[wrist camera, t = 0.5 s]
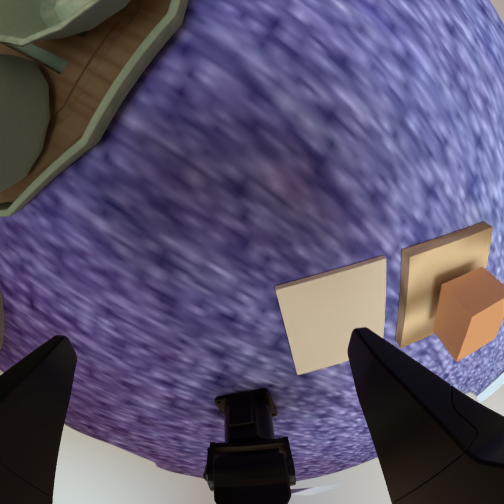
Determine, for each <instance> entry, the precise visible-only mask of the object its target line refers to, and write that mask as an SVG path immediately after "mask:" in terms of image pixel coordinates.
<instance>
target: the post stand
mask: <svg viewBox="0 0 504 504" xmlns="http://www.w3.org/2000/svg"><path fill="white" fill-rule="evenodd" d="M492 228H493V227H492V226H490V225H489V224H487V223H486V222H481V223H479V224H476V225H473V226H470V227H467V228H464V229H462V230H459V231H456V232H453V233H450V234H447V235H444V236H441V237H438V238H435V239H432V240H429V241H426V242H423V243H420V244H417V245H414V246H411V247H408V248H405V249H402V252H401V282H400V298H399V310H398V320H397V329H396V337H395V340H396V342H397V343H398V345H399V347H400V348H402V347H404V346H407V345H409V344H412V343H414V342H416V341H419V340H421V339H423V338H425V337H427V336H430V335H432V334H434V333H435V332H434V331H433V327H434V322H435V318H436V313H437V308H438V302H439V297H440V291H441V285H442V284H444V283H446V282H448V281H451V280H453V279H455V278H458V277H460V276H462V275H464V274H466V273H469V272H471V271H473V270H475V269H477V268H479V267H481V266H482V267H483V268H485V269H486V266H487V260H488V255H489V249H490V243H491V236H492Z"/></svg>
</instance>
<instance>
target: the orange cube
mask: <svg viewBox="0 0 504 504" xmlns="http://www.w3.org/2000/svg"><path fill="white" fill-rule="evenodd" d="M503 317H504V285H503V284H502V283H501V282H500V281H499V280H497V279H496V278H495V277H494V276H493V275H492V274H491V273H489V272H488V271H487V270H486V269H485V268H483V267H482V266H481V267H479V268H477V269H475V270H473V271H471V272H469V273H466V274H464V275H462V276H460V277H458V278H455V279H453V280H451V281H448V282H446V283H444V284H442V285H441V291H440V297H439V302H438V308H437V313H436V318H435V322H434V327H433V331H434V332H435V333H436V335H437V336H438V338H439V339H440V340H441V342H442V343H443V344H444V346H445V347H446V349H447V350H448V351H449V353H450V354H451V356H452V357H453V358H454V360H455V361H456V362H457V361H459V360H460V359H462V358H464V357H466V356H467V355H469V354H471V353H472V352H474V351H476V350H477V349H479V348H481V347H482V346H484V345H485V344H487V343H488V342H490V341H491V340H493V339H494V338H495V337H496V335H497V333H498V330H499V328H500V325H501V323H502V320H503Z"/></svg>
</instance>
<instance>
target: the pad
mask: <svg viewBox="0 0 504 504" xmlns="http://www.w3.org/2000/svg"><path fill="white" fill-rule="evenodd" d="M275 290H276V294H277V298H278V301H279V305H280V309H281V313H282V317H283V321H284V324H285V328H286V332H287V336H288V340H289V344H290V348H291V352H292V356H293V360H294V364H295V368H296V372H297V375H300V374H304V373H308V372H312V371H315V370H319V369H322V368H326V367H329V366H332V365H336V364H339V363H342V362H345V361H348V360H349V358H348V352H347V350H348V345H349V341H350V337H351V333H352V331H353V329H355V328H361V327H367V328H369V329H370V330H371V331H373V332H374V333H376V334H377V335H379V336H380V337H382V338H383V334H384V320H385V301H386V258H385V257H384V256H383V255H382V256H379V257H376V258H372V259H369V260H366V261H362V262H359V263H356V264H352V265H349V266H345V267H342V268H339V269H335V270H332V271H328V272H324V273H321V274H317V275H314V276H310V277H307V278H303V279H299V280H295V281H292V282H288V283H284V284H280V285H277V286H275Z"/></svg>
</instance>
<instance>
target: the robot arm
mask: <svg viewBox="0 0 504 504" xmlns="http://www.w3.org/2000/svg"><path fill="white" fill-rule="evenodd" d="M347 352H348V358H349V362H350V366H351V370H352V374H353V379H354V383H355V387H356V392H357V396H358V399H359V402H360V405H361V408H362V410H363V413H364V416H365V419H366V422H367V425H368V428H369V431H370V434H371V437H372V440H373V443H374V446H375V449H376V452H377V455H378V459H379V461H380V465H381V468H382V471H383V475H384V478H385V481H386V485H387V488H388V492H389V495H390V498H391V502H392V504H504V416H502V415H500V414H498V413H496V412H494V411H493V410H491V409H489V408H487V407H485V406H483V405H482V404H480V403H478V402H476V401H474V400H473V399H471V398H470V397H468V396H467V395H465V394H464V393H462V392H461V391H459V390H458V389H456V388H455V387H453V386H450V384H449V383H447V382H446V381H444V380H443V379H442V378H440V377H439V376H437V375H436V374H434V373H433V372H431V371H430V370H428V369H427V368H426V367H424V366H423V365H421V364H420V363H418V362H417V361H415V360H414V359H412V358H411V357H409V356H408V355H407V354H405V353H404V352H402V351H401V350H399V349H398V348H396V347H395V346H393V345H392V344H390V343H389V342H388V341H386V340H385V339H383V338H382V337H380V336H379V335H377V334H376V333H374V332H373V331H371V330H370V329H369V328H367V327H361V328H355V329H353V331H352V333H351V337H350V341H349V345H348V350H347ZM76 362H77V355H76V352H75V351H74V349H73V347H72V345H71V343H70V341H69V339H68V338H67V337H66V336H62V335H56V336H54V337H53V338H51V339H50V340H48V341H47V342H45V343H44V344H43V345H41V346H40V347H38V348H37V349H36V350H34V351H33V352H32V353H30V354H29V355H27V356H26V357H25V358H23V359H22V360H21V361H19V362H18V363H16V364H15V365H14V366H12V367H11V368H10V369H8V370H7V371H6V372H4V373H3V374H2V375H0V504H52V502H53V501H52V500H53V489H54V479H55V472H56V465H57V458H58V452H59V446H60V441H61V436H62V431H63V426H64V422H65V417H66V413H67V409H68V405H69V400H70V396H71V390H72V384H73V378H74V372H75V367H76ZM215 403H216V405H217V406H218V407H219V409H220V410H221V412H222V413H223V414H224V416H225V443H215V442H210V447H209V448H208V456H207V463H206V467H205V471H204V474H203V478H204V479H205V480H206V481H207V482H208V485H209V488H210V490H211V491H214V500H215V502H216V504H288V502H289V500H290V498H291V490H290V486H293V485H295V484H296V478H295V469H294V463H293V459H292V454H291V450H290V445H289V441H288V437H283V438H277V439H275V437H274V430H273V423H272V417H274V416H276V415H277V411H276V409H275V406H274V404H273V401H272V399H271V397H270V394H269V392H268V390H266V389H262V390H257V391H252V392H247V393H241V394H236V395H230V396H224V397H217V398H215Z"/></svg>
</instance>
